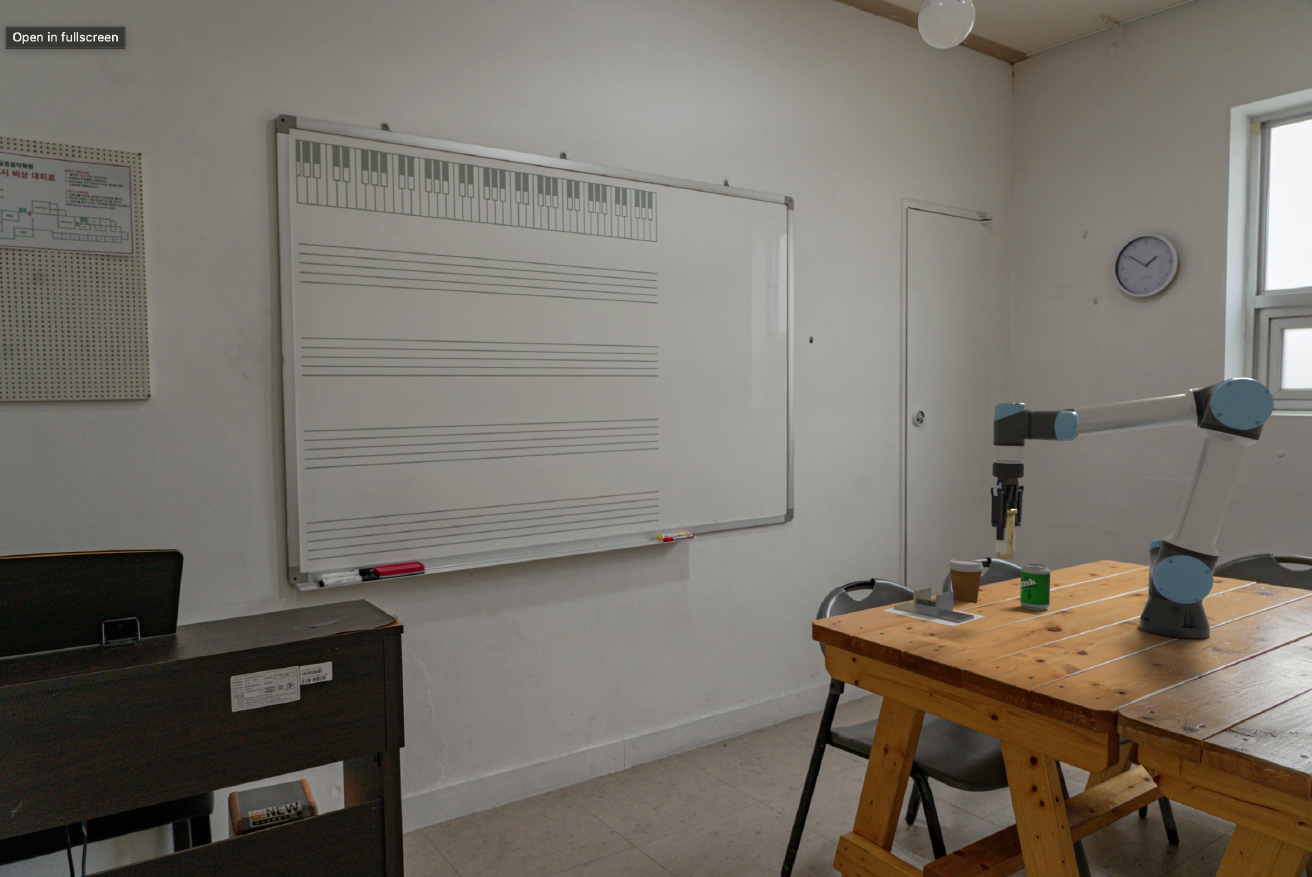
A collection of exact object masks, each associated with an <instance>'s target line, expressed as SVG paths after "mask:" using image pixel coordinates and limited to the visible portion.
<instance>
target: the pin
mask: <svg viewBox="0 0 1312 877" xmlns="http://www.w3.org/2000/svg"><path fill="white" fill-rule="evenodd" d="M1007 513H1008V514H1007V521H1006V527H1005V528H1008V535H1007V553H1006V554H1005V553H998V552H996V557H997V559H1003V560H1013V559H1015V558H1014V557H1015V552H1014V532H1015V513H1017V509H1011V508H1008V510H1007Z"/></svg>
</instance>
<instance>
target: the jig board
mask: <svg viewBox="0 0 1312 877" xmlns="http://www.w3.org/2000/svg"><path fill="white" fill-rule="evenodd" d="M953 611H955V612H960V613H965V614H970V615H974V619H971V620H968V621H964V622H961V623H958V622H953V621H948V620H944V619H939V618H934V617H930V616H925V615H920V614H916V613H912V612H907V611H902V610H898V609H894V607H891V608H887V609H883V610H882V612H886V613H890V614H895V615H900V616H905V617H908V618H913V619H916V620H917V619H918V620H922V621H927V622H930V623H934V624H940V625H944V626H949V627H954V628H955V627H957V626H960V625H964V624H966V623H969V622H972V621H976V620H979V619H982V618H985V617H986V615H985V616H984V615H980V614H975V613H970V612H966V611H960V610H957V609H953Z"/></svg>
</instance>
